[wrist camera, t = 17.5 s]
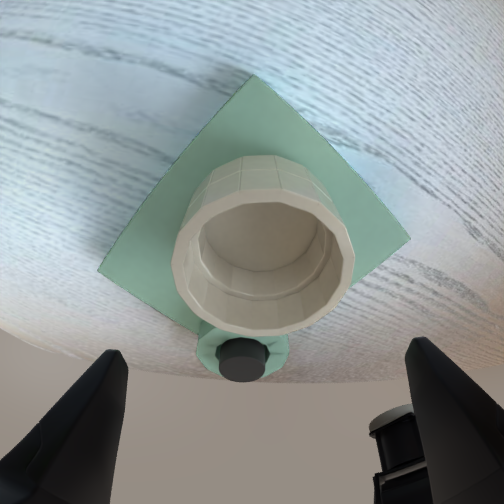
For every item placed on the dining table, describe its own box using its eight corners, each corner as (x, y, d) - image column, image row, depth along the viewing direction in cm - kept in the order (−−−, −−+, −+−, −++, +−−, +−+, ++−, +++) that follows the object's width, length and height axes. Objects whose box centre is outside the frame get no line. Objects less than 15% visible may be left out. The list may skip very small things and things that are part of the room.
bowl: (263, 295, 19) (266, 356, 15) (163, 224, 16) (139, 279, 12) (357, 216, 16) (387, 269, 12) (256, 120, 13) (258, 146, 9)
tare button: (244, 368, 21) (244, 387, 19) (211, 351, 20) (209, 370, 18) (273, 349, 20) (275, 369, 18) (240, 329, 19) (239, 350, 17)
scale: (246, 356, 24) (246, 388, 22) (99, 265, 19) (82, 296, 17) (409, 234, 18) (429, 263, 16) (253, 73, 13) (254, 75, 11)
